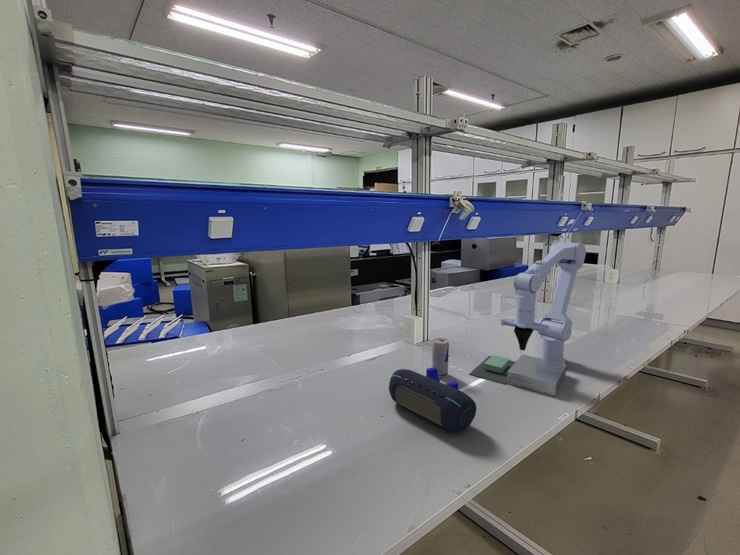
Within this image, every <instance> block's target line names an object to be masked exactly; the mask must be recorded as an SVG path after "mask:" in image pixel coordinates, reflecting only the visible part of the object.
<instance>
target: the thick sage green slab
mask: <svg viewBox="0 0 740 555" xmlns="http://www.w3.org/2000/svg"><path fill="white" fill-rule="evenodd" d="M490 356H491V357H490V358H489V359H488V360H487V361H486V362H485V363H484V369H486V370H490V371H494V372H498V373H502V372H503V371H504V370H505V369H506V367H507V366H508V365H509V364H510V360H511V359H510V358H507V357H504V356H499V355H494V354H492V355H490Z"/></svg>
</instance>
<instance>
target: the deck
mask: <svg viewBox="0 0 740 555" xmlns="http://www.w3.org/2000/svg"><path fill="white" fill-rule="evenodd" d="M566 372H567V363H565V362H564V363H560V362H555V361H550V360H546V359H541V358H540V357H536V356H531V355H528V354H521V355H520V356H519V358H518V359H517V360H515V363H514V365H513V366H512V367H511V368H510V369H509V370H508V371H507V383H506V384H507V385H511V386H514V387H518V388H522V389H526V390H529V391H533V392H536V393H541V394H543V395H548V396H551V397H556V396H557V393H558V391H559V389H560V388H561V385H562V383H563V381H564V379H565V377H566V375H567V374H566Z"/></svg>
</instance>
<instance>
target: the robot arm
mask: <svg viewBox="0 0 740 555" xmlns="http://www.w3.org/2000/svg"><path fill="white" fill-rule="evenodd" d="M586 255H587V249H586V246H585V244H584V243H583V242H565V241H564V242H561V241H554V242H553V243H552V244H551V245H550V248H549V252H548V253H547V255H546V256H545V257H544V258H543V259H542V260H536V261H535V262H534V263H533V264H532V265H531V266H530V267H528V268H527V270H525V271H524V272H520V273H518V274H516V275H515V276H514V281H513V282H512V283H513V287H514V293H515V296H516V300H515V301H516V303H515V318H514V319H512V318H501V320H500V325H501V326H508V327H513V328H514V329H513V332H514V335H515V337H516V339H517V341H518V348H519V350H520V351H525V350H526V349H527V344H528V342H529V340H530V337H531V336H532V334H533V332H535V331H536V332H538V335H540V338H541V346H540V347H541V348H540V349H541V350H540V357H539V358H541V359H546V360H550V361H555V362H560V363H564V364H565V362H566V360H567V359H566V358H565V357H564V351H565V342H567V341H568V340H569V339H570V338H571V335H572V326H573V321H572V319H571V318H569V317H568V315H567V310H568V308H569V307H568V306H569V303H570V301H571V300H570V299H571V296H572V292H573V288H574V285H575V281H576V277H577V273H578V270H580V269H581V268H583V265H584V262H585V259H586ZM555 265H556V266H557V267H559V268H560V273H559V277H558V281H557V284H556V289H555V292H554V296H553V300H552V303H551V306H550V310H549V311H547V312H545V313H543V314H541V318H540V320H539V322H535V316H536V315H535V313H536V303H537V302H536V300H537V292H539V291H540V290H541V286H542V284H543V282H544V280H545V279H546V278H547V277H548V276H549V275H550V274H551V273H552V268H553V267H555Z"/></svg>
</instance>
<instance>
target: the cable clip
mask: <svg viewBox="0 0 740 555" xmlns="http://www.w3.org/2000/svg"><path fill="white" fill-rule="evenodd" d="M425 376H426V377H429V378H431V379H433V380H436V381H438V382H441V380H440V378H439V377H438V373H437V368H435V367H432V366H431V367H428V368H426V375H425ZM446 385H448V386H450V387H453V388H455V389H458V390H460V391H462V390H461V389H460V388H459V382H458V381H456V380H452V381H448V382H446Z"/></svg>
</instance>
